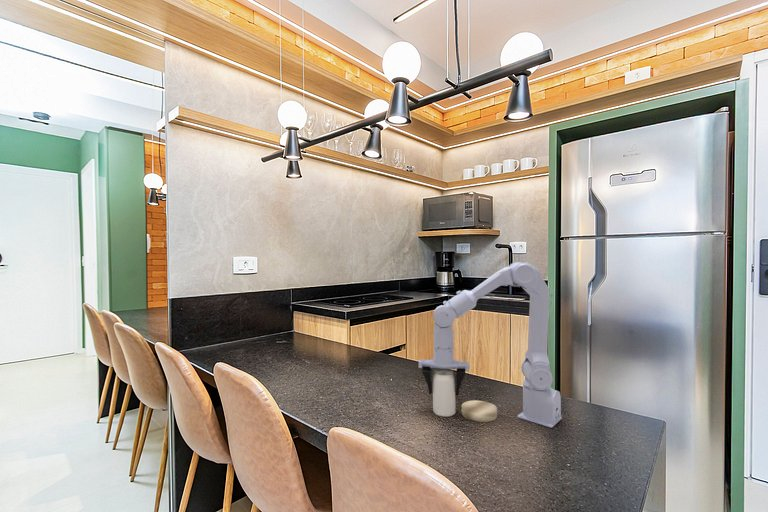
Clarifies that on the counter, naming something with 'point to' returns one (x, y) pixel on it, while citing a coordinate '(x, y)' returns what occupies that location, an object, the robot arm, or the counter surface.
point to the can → (444, 392)
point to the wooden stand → (479, 411)
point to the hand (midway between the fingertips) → (443, 393)
